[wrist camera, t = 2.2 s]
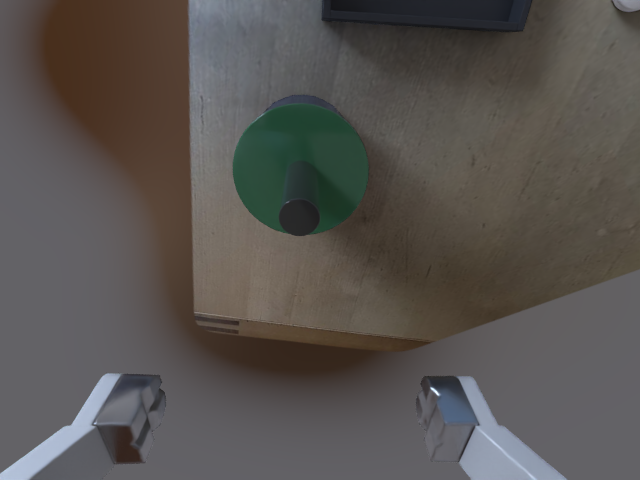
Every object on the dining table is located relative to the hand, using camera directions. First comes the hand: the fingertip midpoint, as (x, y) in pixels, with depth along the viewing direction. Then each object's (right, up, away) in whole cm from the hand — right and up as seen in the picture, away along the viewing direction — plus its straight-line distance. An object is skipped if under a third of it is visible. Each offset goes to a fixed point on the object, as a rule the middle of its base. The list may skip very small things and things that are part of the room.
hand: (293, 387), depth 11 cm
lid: (-1, +10, +18) cm, 21 cm away
